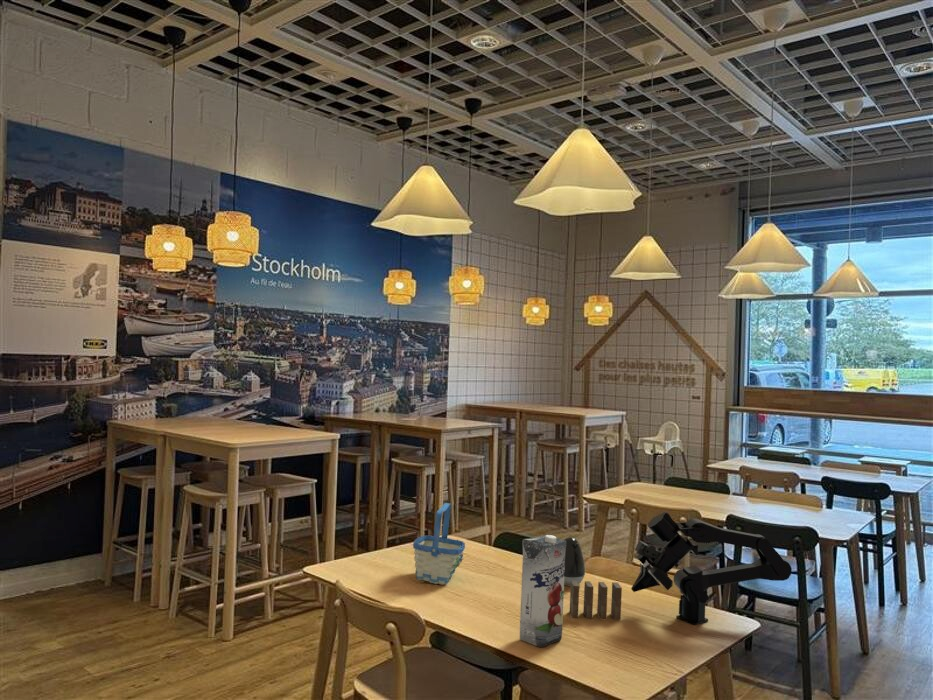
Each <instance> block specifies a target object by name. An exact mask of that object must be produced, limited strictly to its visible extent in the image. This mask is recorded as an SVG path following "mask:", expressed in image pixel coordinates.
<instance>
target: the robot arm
mask: <svg viewBox="0 0 933 700" xmlns="http://www.w3.org/2000/svg"><path fill="white" fill-rule="evenodd" d="M647 528H648V529H649V530H650V531H651V532H652V533H653V534H654V535H655V536H656V537H657V538H658V539H659V541H661V542H666V544H665V545H664V546H663V547H662V546H657V547H656V546H655V545H653V544H652V543H648V544H647V543H646V542H645V541H641V540H639V541H638V542H637V544H636V546H635V548H634V551H635V552H636V553H637V555H636V558H637V559H638V560H639V562H640V563H639V566H640V567H639V568H640V569H639V571H640V572H639V574H638V576H637V578H636V579H635V581H634V582H633V584H632V586H631V587H630V588H631V591H632V592H633V593H635V592H636V593H637V592H639V591H642V590H643V591H644V590H646V589H649V588H654V587H656V586H661V585H662V586H663V587H664V588H665V590H666V591H669V590H670V589H671V588H672V587H673V585H675V586H676V587H677V588H678V589H679V592H680V594H681V595H680V599H679V601H678V603H679V604H678V615H676V619H679V620H681V621H684V622H686V623H689V624H692V625H699V624H703V623H706V622H708V621H709V619H708V618H707V617H706V603H707V600H708V599H709V595H708V594H707V593H706V592H705V591H707V590H708V589H709V588H711V587H717V586H723V585H724V586H725V585H730V584H736V583H743V582H746V581H747V582H748V581H752V580H753V581H754V580H755V581H756V580H766V581H772V582H773V581H774V582H775V581H779V582H782V581H786V580H788V579H789V578H790V577H791V575H792V571H793V570H792V569H793V568H792V566H791V564H790V563H789V562H788V561H787V560H785V559H783V557H782V556H781V555H780V554H779V552H778V551H776V549H775V548H774V547H773V545H772V544H771V542H770V540H769V539H768V538H767V537H765V536H763V535H761V534H757V533H756V534H754V533H749V532H744V531H739V530H735V529H733V530H732V529H728V528H723V527H718V526H715V525H712V524H711V523H708V522H706V521H703V520H700V519H698V518H690V519H689V520H687V521H685V522H675V521H674V519H673V518H672V517H671V515H670V514H669V513H668V512H667V511H665V510H664V511H663V512H662V513H660V514H659V513H658V514H657V515H656V516H654V517H652V518H651V519H650V520H649V522H648V524H647ZM680 533H681V534H682V535H683V536H682V535H680ZM690 539H691V540H693V542H695V543H692V541H691V540H690ZM697 543H699V544H712V543H723V544H728V545H733V546H739V547H742V548H743V547H744V548H748V549H753V550H755V551H756V552H755V553H757V556H758V557H759V558H758V559H756V560H755V561H754V562H751V563H745V564H739V565H732V566H727V567H722V568H721V567H719V568H715V569H714V568H713V569H709V570H702V569H701V568H700V567H698V566H697V564H694V565H691V566H690V565H689V566H681V569H678V570H677V571H676V572H675V574H674V575H673V580H672V578H670V576H669V574H668V572H670V571H671V570H672V569H673V568H674V567H675V568H676V569H677V568H678V567H679V566H680V564H679V563H680V561H681V560H682V559H683V558H685V557H686V556H687V555H688V554H689V553H690V552H691V553H693V554H694V555H695V556H699V549H698V548H699V545H698V544H697Z"/></svg>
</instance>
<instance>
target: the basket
mask: <svg viewBox="0 0 933 700" xmlns="http://www.w3.org/2000/svg"><path fill="white" fill-rule="evenodd" d="M451 504H452V503H449V502H448V503H447V502H444V503H443V505H442V506H441V508H439V509H438V510H437V511H436V513H435V517H434V518H435V519H434V520H435V521H434V528H433V535H422V536H418V537H417V538H416V539H414V540H413V542H412V547H413V549H414V551H413V554H414V557H413V559H414V562H415V563H414V567H415V575H416V580H419V581H425V582H429V583H431V584H435V585H438V584H439V585H442V586H443V585H447V584H448V583H449V581H450V578H452V575H454V574H455V572H456V569H457V567H460V564H462V562H463V560H464V553H463V552H464V550H465V548H466V543H465V542H464V541H462V540H459V539H454V538H453V539H452V538H448V536H449V528H450V527H449V526H450V518H451V507H452V505H451ZM443 513H444V514H443ZM442 517H443V522H442ZM441 525H442V532H441ZM440 534H441V535H440Z"/></svg>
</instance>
